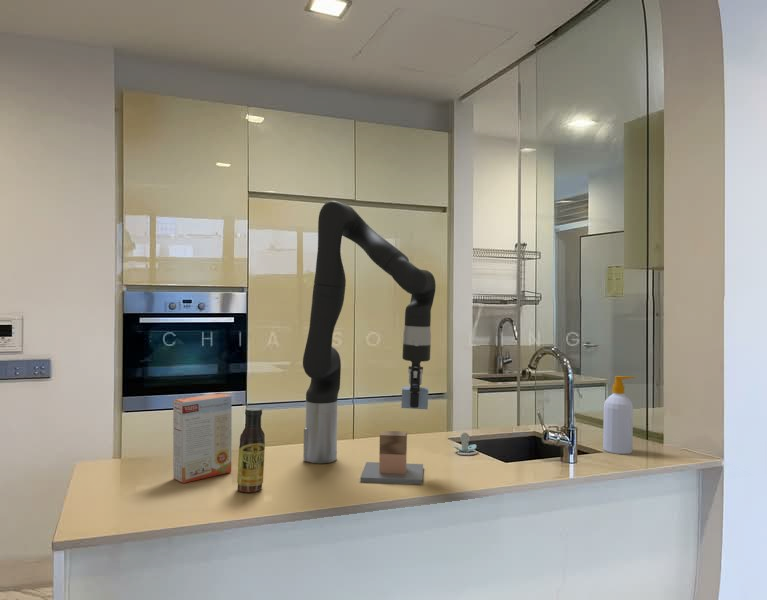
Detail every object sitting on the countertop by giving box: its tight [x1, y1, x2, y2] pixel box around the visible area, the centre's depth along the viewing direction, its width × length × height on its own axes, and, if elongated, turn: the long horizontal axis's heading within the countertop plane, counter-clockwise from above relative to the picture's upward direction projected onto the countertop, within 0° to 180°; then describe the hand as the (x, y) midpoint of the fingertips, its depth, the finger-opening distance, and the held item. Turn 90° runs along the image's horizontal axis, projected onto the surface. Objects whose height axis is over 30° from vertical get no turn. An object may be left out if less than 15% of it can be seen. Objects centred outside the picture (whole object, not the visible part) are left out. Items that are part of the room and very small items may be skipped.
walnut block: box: [379, 430, 408, 455], centre depth 152 cm, size 7×5×5 cm
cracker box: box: [172, 393, 233, 484], centre depth 149 cm, size 14×6×21 cm, turn 134°
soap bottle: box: [602, 375, 636, 455], centre depth 180 cm, size 9×9×24 cm
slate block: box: [400, 386, 429, 410], centre depth 153 cm, size 7×5×5 cm
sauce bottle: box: [236, 407, 266, 493], centre depth 138 cm, size 6×6×20 cm
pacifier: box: [453, 432, 478, 456], centre depth 174 cm, size 7×6×6 cm
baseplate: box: [359, 450, 424, 485], centre depth 152 cm, size 16×14×6 cm
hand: (414, 404), depth 153 cm, fingers closed on slate block, 5 cm apart
